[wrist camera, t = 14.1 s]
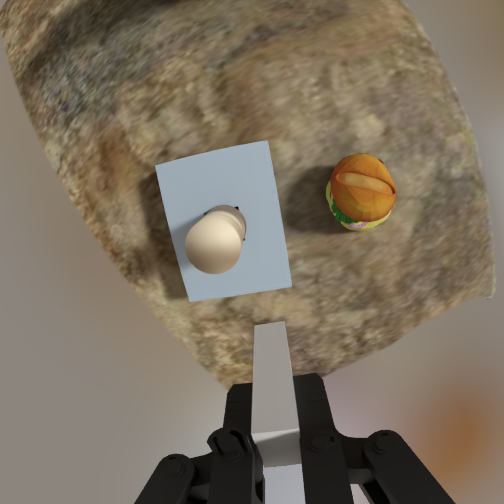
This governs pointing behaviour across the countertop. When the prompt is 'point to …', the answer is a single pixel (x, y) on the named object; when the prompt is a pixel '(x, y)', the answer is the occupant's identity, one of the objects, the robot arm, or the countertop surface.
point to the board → (233, 194)
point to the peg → (216, 240)
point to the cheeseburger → (360, 192)
